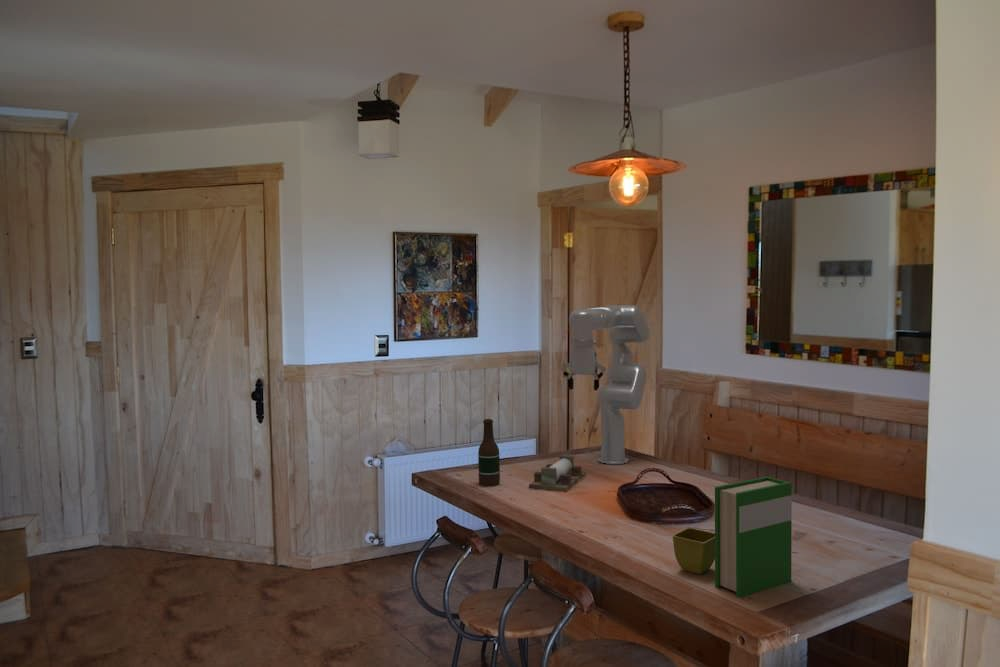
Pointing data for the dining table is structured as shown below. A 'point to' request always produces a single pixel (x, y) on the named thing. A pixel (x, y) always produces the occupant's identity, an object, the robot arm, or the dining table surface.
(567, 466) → the roll
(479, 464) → the beer bottle
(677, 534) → the flower pot
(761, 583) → the hardback book
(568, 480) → the cradle
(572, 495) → the dining table surface
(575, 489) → the dining table surface
